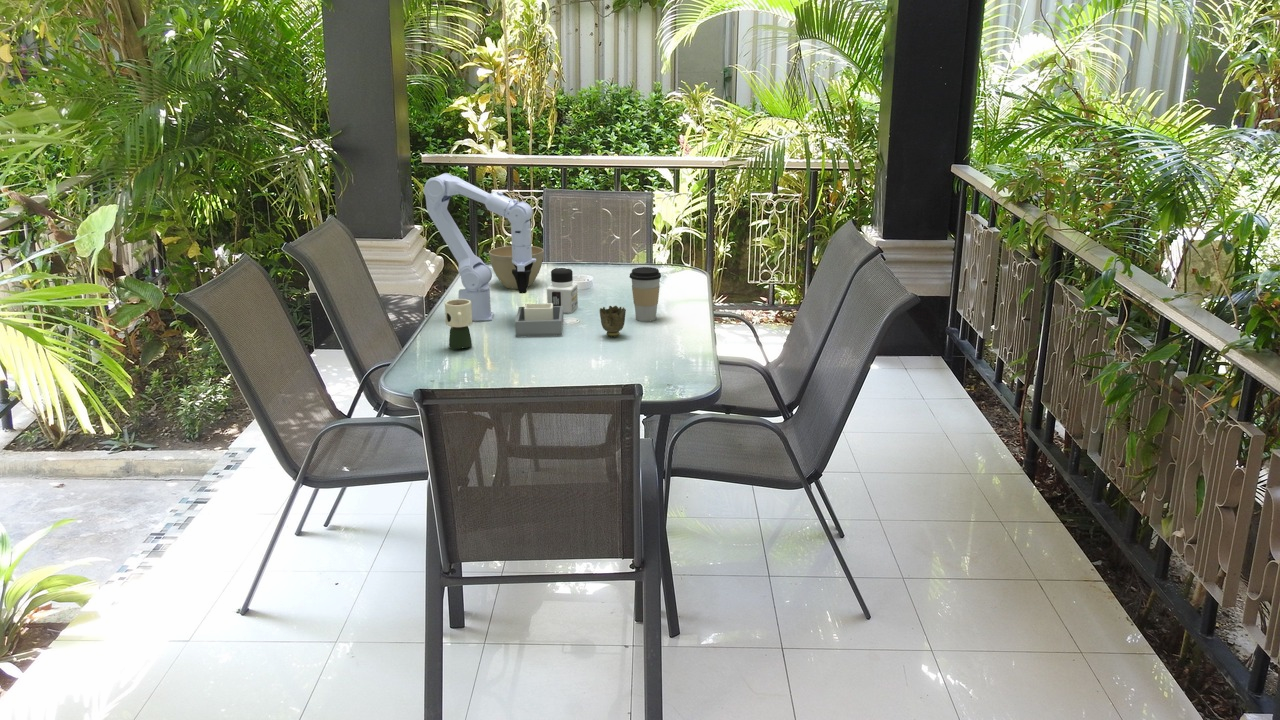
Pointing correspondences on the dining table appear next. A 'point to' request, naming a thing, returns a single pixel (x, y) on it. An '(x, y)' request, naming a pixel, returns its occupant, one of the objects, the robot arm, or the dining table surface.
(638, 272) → the coffee cup
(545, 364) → the dining table surface
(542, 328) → the grey crate
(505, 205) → the robot arm
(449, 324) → the character mug
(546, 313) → the cream crate
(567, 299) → the container
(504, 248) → the flower pot
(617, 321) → the cup
